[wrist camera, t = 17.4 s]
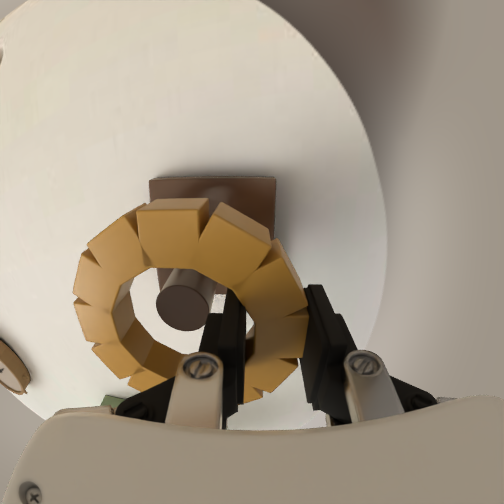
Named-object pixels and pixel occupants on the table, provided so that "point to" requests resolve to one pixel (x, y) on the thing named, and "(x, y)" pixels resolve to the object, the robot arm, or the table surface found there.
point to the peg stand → (216, 190)
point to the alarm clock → (12, 371)
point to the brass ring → (205, 262)
